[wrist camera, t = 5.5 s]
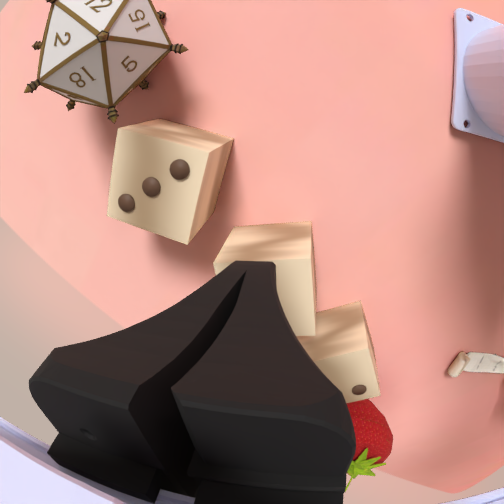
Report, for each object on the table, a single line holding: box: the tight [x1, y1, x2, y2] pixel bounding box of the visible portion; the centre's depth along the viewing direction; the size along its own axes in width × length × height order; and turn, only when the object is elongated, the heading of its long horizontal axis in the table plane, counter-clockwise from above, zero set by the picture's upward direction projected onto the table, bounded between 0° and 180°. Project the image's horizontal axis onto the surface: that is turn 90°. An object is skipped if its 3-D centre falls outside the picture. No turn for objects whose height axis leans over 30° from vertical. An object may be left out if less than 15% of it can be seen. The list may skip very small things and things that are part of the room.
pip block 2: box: [296, 301, 381, 403], centre depth 22 cm, size 5×5×5 cm
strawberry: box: [345, 399, 393, 491], centre depth 22 cm, size 6×8×10 cm
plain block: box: [213, 221, 316, 336], centre depth 20 cm, size 5×5×5 cm
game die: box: [24, 0, 188, 124], centre depth 13 cm, size 9×8×10 cm
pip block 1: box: [107, 119, 234, 245], centre depth 18 cm, size 5×5×5 cm
